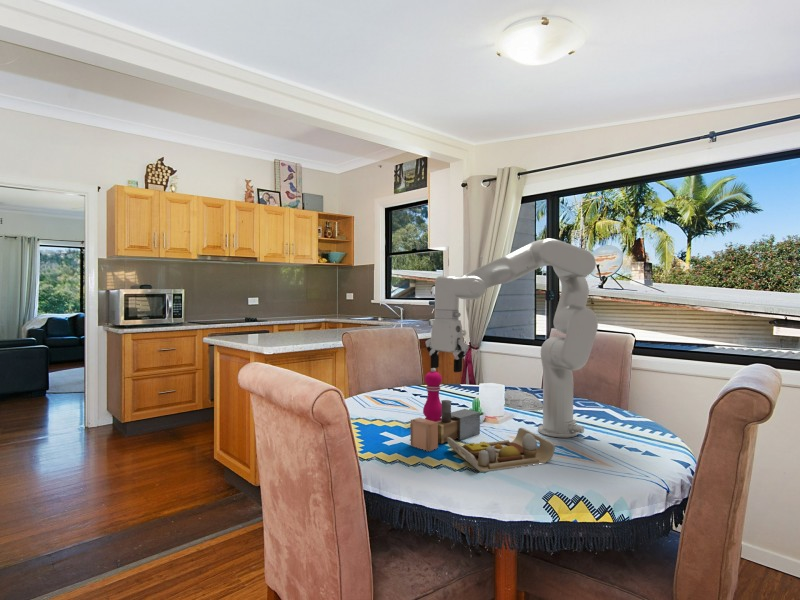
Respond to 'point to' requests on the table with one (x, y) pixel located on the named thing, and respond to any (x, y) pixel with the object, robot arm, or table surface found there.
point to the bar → (447, 423)
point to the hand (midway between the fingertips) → (445, 369)
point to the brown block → (424, 434)
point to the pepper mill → (433, 396)
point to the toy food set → (506, 452)
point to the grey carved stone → (522, 401)
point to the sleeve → (467, 423)
